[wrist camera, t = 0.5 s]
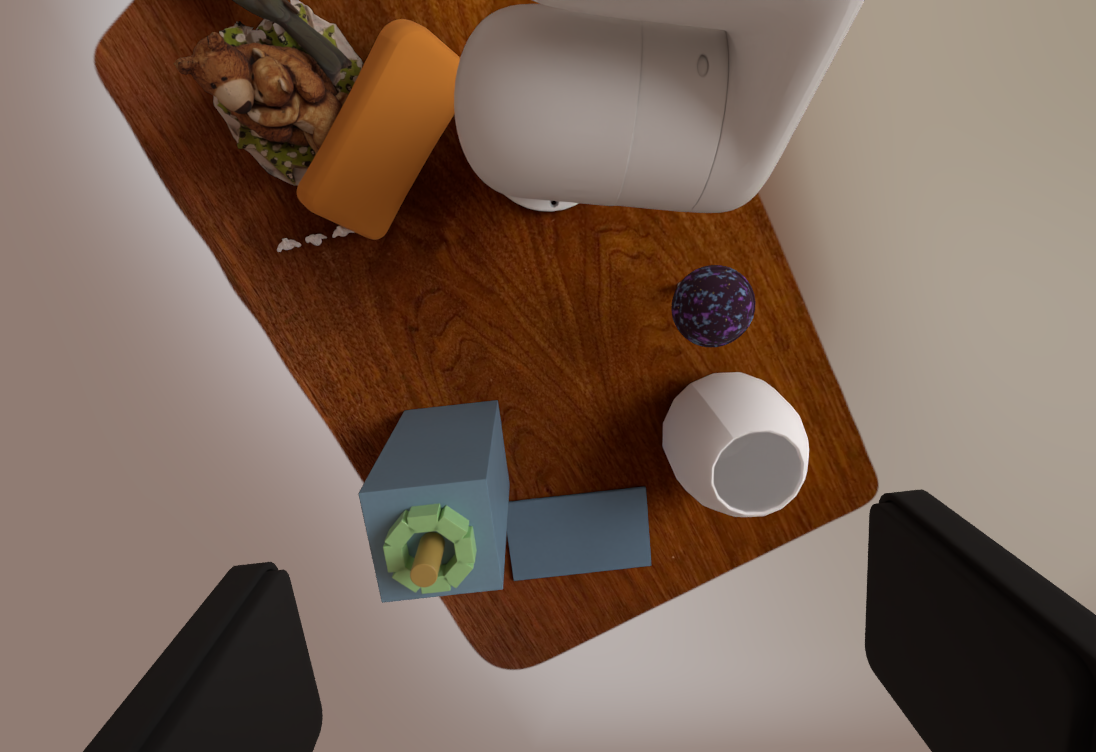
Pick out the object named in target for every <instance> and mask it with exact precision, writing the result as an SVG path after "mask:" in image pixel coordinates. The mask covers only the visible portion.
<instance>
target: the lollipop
mask: <svg viewBox="0 0 1096 752" xmlns="http://www.w3.org/2000/svg"><path fill="white" fill-rule="evenodd" d="M754 311H755V297H754V293H753V290H752V287H751V285H750V284H749V282H748V281H747V280H746V278H745V277H744V276H743V275H741V274H740V273H739V272H737V271H736V270H734V269H732V268H729V267H726V266H720V265H710V266H705V267H701V268H699V269H697V270H695V271H693V272H691V273H690V274H688V275H687V276H686V277H685V278H684V279H683V280H682V281H681V282H680V283H678V287H677V289H676V291H675V293H674V296H673V300H672V316H673V320H674V323H675V325H676V327H677V329H678V330H679V331H680V333H681V334H682V335H683V336H684V337H685V338H686V339H688V340H689V341H691V342H692V343H694V344H697V345H700V346H704V347H719V346H723V345H726V344H729V343H731V342H733V341H734V340H736V339H737V338H739V337H740V336H741V335H742V334H743V333H744V332H745V331H746V329H747V328H748V326H749V325H750V323H751V321H752V318H753V315H754Z"/></svg>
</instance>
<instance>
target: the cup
mask: <svg viewBox="0 0 1096 752" xmlns="http://www.w3.org/2000/svg"><path fill="white" fill-rule="evenodd" d="M662 447H663V449H664V451H665V454H666V456H667V458H668V461H669V463H670V465H671V467H672V470H673V472H674V474H675V476H676V479H677V480H678V481H679V482H680V484H681V485H682V486H683V488H684V489H685V490H686V491H687V492H688V493H689V494H691V495H692V496H693V497H694V498H695V499H696V500H697V501H698V502H700V503H701V504H702V505H703V506H706V507H708V508H711V509H713V510H716V511H719V512H722V513H725V514H728V515H731V516H734V517H756V516H765V515H768V514H770V513H773V512H775V511H778V510H780V509H782V508H783V507H784V506H785V505H787V504H788V503H789V502H790V501H791V500H792V499H793V498H794V497H796V495H797V493H798V491H799V490H800V488H801V486H802V484H803V482H804V480H805V477H806V473H807V468H808V457H809V444H808V438H807V435H806V432H805V429H804V427H803V424H802V421H801V418H800V416H799V415H798V413H797V412H796V411H795V410H794V408H793V407H792V406H791V405H790V404H789V403H788V402H787V401H786V400H785V399H784V398H783V397H782V396H781V395H780V394H779V393H778V392H777V391H776V390H775V389H774V388H773V387H771V386H770V385H769V384H767V383H766V382H765V381H763V380H760V379H758V378H755V377H752V376H750V375H747V374H744V373H741V372H732V373H714V374H711V375H708V376H706V377H704V378H701V379H699V380H697V381H694V382H692V383H690V384H689V385H688V386H687V387H686V388H685V389H684V390H683V391H682V392H681V393H680V394H679V395H678V396H677V397H676V398H675V399H674V400H673V402H672V404H671V407H670V409H669V411H668V413H667V415H666V418H665V420H664V422H663V443H662Z"/></svg>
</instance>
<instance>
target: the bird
mask: <svg viewBox="0 0 1096 752" xmlns="http://www.w3.org/2000/svg"><path fill="white" fill-rule="evenodd" d="M233 1H234V2H235V3H237V4H238V5H240V6H242V7H243V8H245V9H246V10H248V11H250V12H251V13H253V14H255V15H257V16H259V17H261V18H263V19H266V20H270V21H272V22H274V23H276V24H278V25H280V26H281V27H282V28H283V29H284V30H285V31H286V32H287V33H288V34H289V35H290V36H291V37H292V38H293V39H294V40H295V41H296V42H297V43H298V44H299V45H300V46H301V47H302V48H303V49H304V50H305V51H306V52H307V53H308V54H309V55H310V56H311V57H312V58H313V59H314V60H315V61H316V62H317V63H318V64H319V65H320V67H321V68H322V69H323V70H324V72H325V74H326V75H327V76H328V77H329V78H330V79H331V81H332V83H333V84H334V85H335V86H336V84H337V82H338V81H339V80H340V79H341V74H340V71H341V69H345V68H348V66H350V65H351V64H352V62H351V60H349V59H348V58H347V57H346V56H345V55H344V54H343V53H342V52H341V51H340V50H339V49H338V48H337V47H336V46H335V45H334V44H332V43H331V42H330V41H329V40H328V39H327V38H326V37H324V36H323V35H322V34H320V33H319V32H317V31H316V30H315V29H314V28H312V27H311V26H310V25H309V24H307V23H306V22H305V21H304V20H303V19H302V18H300V17H299V16H298V15H297V14H300V12H299V11H298V10H297V9H296V8H295V7H294V6H293V5H292V4H290V3H289V2H288V1H287V0H233Z"/></svg>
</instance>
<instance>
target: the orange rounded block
mask: <svg viewBox="0 0 1096 752" xmlns="http://www.w3.org/2000/svg"><path fill="white" fill-rule="evenodd" d="M459 61H460V57H459V56H458V55H457V54H455V53H454V52H453V51H452V50H451V49H450V48H448V47H447V46H446V45H445V44H444V43H443V42H442V41H440V40H439V39H438V38H437V37H436V36H435V35H434V34H432V33H431V32H430V31H429V30H428V29H426V28H425V27H423V26H421V25H419V24H417V23H415V22H413V21H411V20H405V19H399V20H394V21H392V22H390V23H389V24H387V25H386V26H385V27H384V28H383V30H382V31H381V32H380V34H379V36H378V37H377V39H376V41H375V43H374V45H373V47H372V49H371V51H370V53H369V55H368V57H367V59H366V61H365V63H364V65H363V67H362V69H361V71H360V73H359V75H358V77H357V79H356V81H355V83H354V85H353V87H352V89H351V91H350V93H349V95H348V97H347V99H346V101H345V102H344V104H343V106H342V108H341V110H340V112H339V114H338V115H337V117H336V119H335V121H334V123H333V125H332V127H331V128H330V130H329V132H328V134H327V136H326V138H325V140H324V142H323V143H322V145H321V147H320V149H319V150H318V152H317V154H316V156H315V157H314V159H313V161H312V162H311V164H310V166H309V167H308V169H307V171H306V173H305V174H304V176H303V178H302V179H301V181H300V183H299V184H298V188H297V197H298V199H299V200H300V202H301V203H302V204H303V205H304V206H305V207H306V208H307V209H308V210H310V211H311V212H312V213H315V214H317V215H319V216H321V217H323V218H325V219H328V220H330V221H332V222H334V223H336V224H338V225H341V226H343V227H345V228H347V229H349V230H351V231H354V232H356V233H358V234H360V235H362V236H364V237H366V238H369V239H372V240H376V239H380V238H381V237H383V236H384V235H385V234H386V233H387V231H388V229H389V227H390V225H391V223H392V221H393V220H394V218H395V216H396V214H397V212H398V210H399V208H400V206H401V204H402V202H403V201H404V199H405V197H406V195H407V193H408V192H409V190H410V188H411V186H412V185H413V183H414V181H415V179H416V178H417V176H418V174H419V172H420V171H421V169H422V167H423V165H424V164H425V162H426V160H427V158H428V157H429V155H430V153H431V152H432V150H433V148H434V146H435V145H436V143H437V142H438V140H439V138H440V137H441V135H442V133H443V132H444V130H445V129H446V127H447V125H448V124H449V122H450V120H451V119H452V117H453V116H454V114H455V112H454V90H455V80H456V74H457V69H458V65H459Z"/></svg>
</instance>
